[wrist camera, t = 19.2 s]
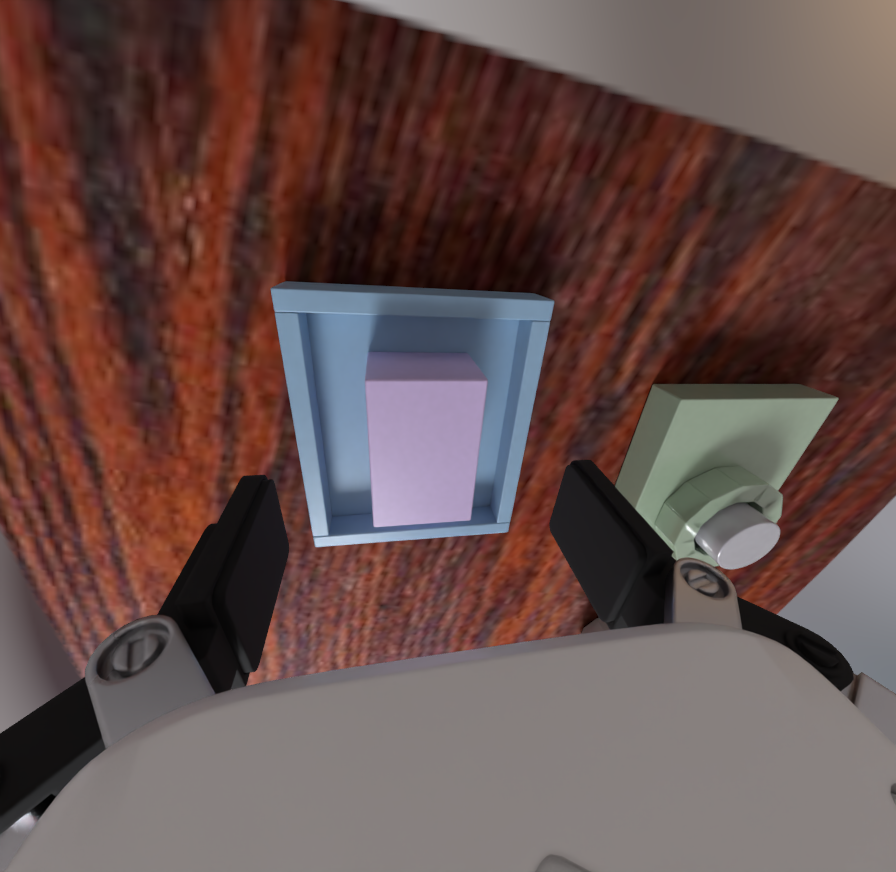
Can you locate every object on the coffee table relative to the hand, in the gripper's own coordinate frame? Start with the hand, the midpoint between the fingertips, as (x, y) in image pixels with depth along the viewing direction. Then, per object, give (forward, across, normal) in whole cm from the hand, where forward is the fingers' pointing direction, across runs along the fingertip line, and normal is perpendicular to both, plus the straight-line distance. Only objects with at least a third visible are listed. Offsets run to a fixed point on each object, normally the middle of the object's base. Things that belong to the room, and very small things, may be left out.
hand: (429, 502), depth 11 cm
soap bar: (+7, 0, +1) cm, 7 cm away
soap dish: (+7, 0, +1) cm, 7 cm away
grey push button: (+3, -18, +6) cm, 20 cm away
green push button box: (+7, -18, +5) cm, 20 cm away
